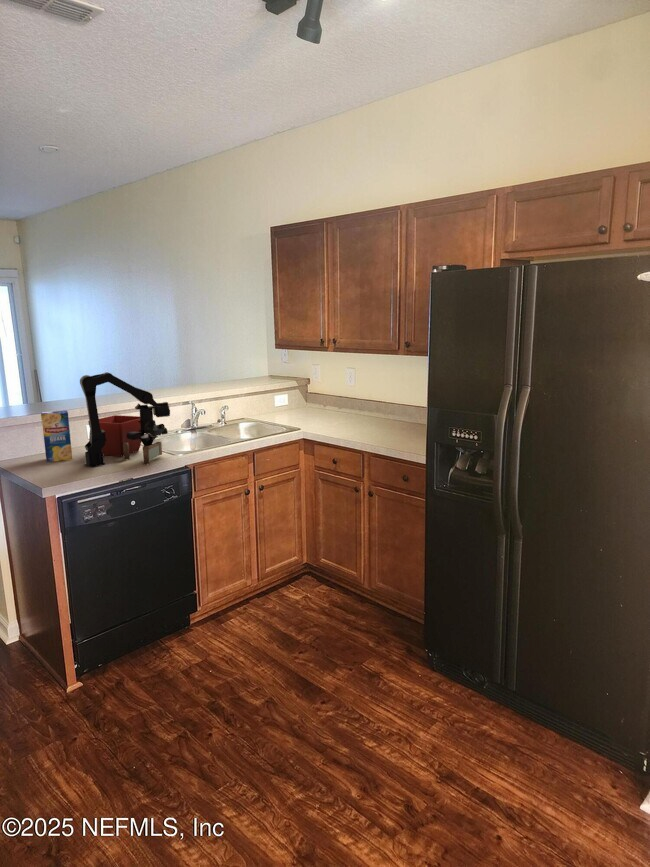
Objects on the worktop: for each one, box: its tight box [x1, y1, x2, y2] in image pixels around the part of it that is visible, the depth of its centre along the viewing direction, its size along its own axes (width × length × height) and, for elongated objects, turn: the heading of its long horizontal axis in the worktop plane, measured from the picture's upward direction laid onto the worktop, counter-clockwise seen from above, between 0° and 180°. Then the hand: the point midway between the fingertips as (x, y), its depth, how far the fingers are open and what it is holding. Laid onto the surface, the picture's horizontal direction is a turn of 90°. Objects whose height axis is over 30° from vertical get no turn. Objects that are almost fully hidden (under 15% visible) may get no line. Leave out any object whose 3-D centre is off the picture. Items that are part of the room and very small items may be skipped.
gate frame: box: [123, 443, 150, 466], centre depth 258 cm, size 2×17×8 cm, turn 52°
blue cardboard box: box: [40, 410, 73, 463], centre depth 261 cm, size 7×11×22 cm, turn 117°
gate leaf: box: [148, 441, 163, 461], centre depth 260 cm, size 2×12×6 cm, turn 169°
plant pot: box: [88, 414, 142, 457], centre depth 273 cm, size 19×19×17 cm
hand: (148, 451), depth 264 cm, fingers closed
